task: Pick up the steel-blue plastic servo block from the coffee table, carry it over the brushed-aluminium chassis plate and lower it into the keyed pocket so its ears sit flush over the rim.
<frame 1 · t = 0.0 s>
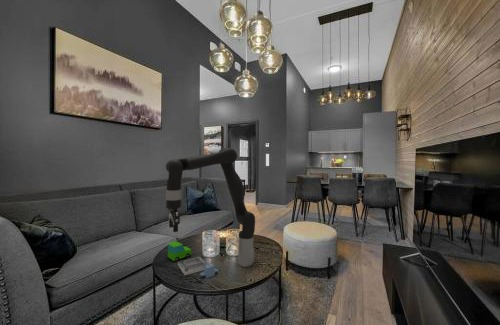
hand: (173, 229, 111), 29 cm above the table, fingers open, 8 cm apart
servo: (209, 275, 122), on the table
chassis: (192, 267, 131), on the table
toy car: (179, 257, 144), on the table
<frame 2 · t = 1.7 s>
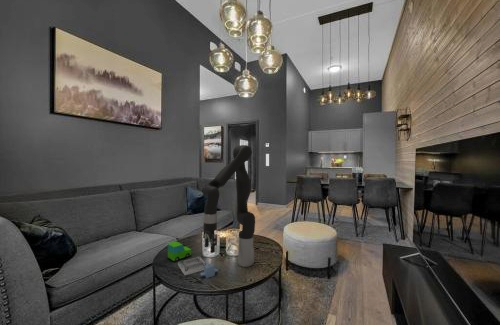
hand: (209, 249, 122), 15 cm above the table, fingers open, 8 cm apart
nothing on the table moved.
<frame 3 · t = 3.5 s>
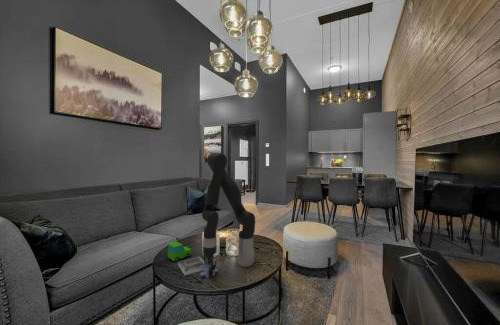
hand: (209, 274, 122), 0 cm above the table, fingers closed on servo, 3 cm apart
servo: (209, 275, 122), on the table, touching gripper
everything else where it was.
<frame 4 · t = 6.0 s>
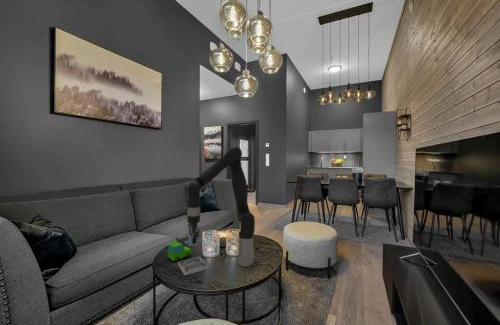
hand: (193, 242, 130), 15 cm above the table, fingers closed on servo, 3 cm apart
servo: (192, 244, 130), point 14 cm above the table, tilted 7°, touching gripper
everything else where it was.
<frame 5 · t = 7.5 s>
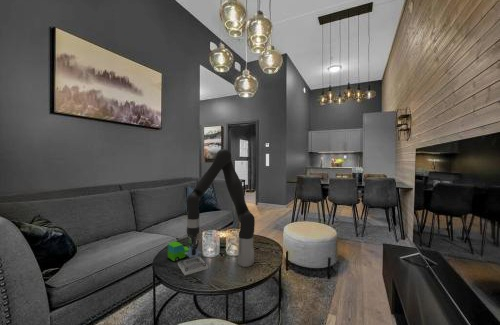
hand: (192, 253, 131), 8 cm above the table, fingers closed on servo, 3 cm apart
servo: (192, 256, 131), point 7 cm above the table, tilted 9°, touching gripper
everything else where it was.
when the fingers open (4 cm above the table, at t = 8.8 s): servo stays where it is, resting on chassis.
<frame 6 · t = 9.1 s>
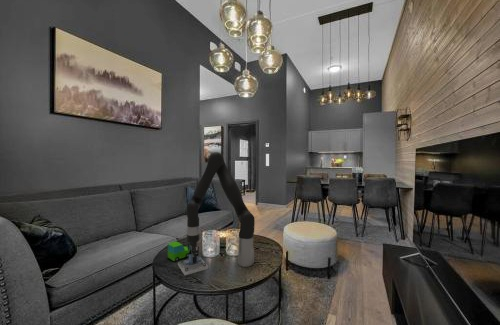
hand: (192, 260, 131), 4 cm above the table, fingers open, 6 cm apart
servo: (193, 263, 131), point 2 cm above the table, touching chassis
everything else where it was.
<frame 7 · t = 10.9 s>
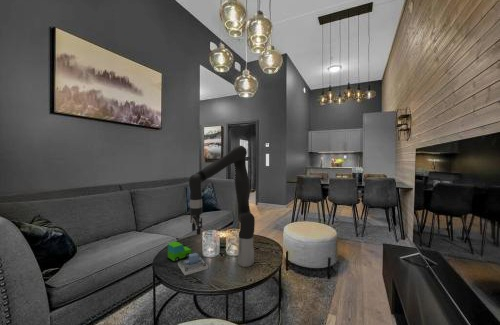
hand: (196, 232, 132), 21 cm above the table, fingers open, 8 cm apart
nothing on the table moved.
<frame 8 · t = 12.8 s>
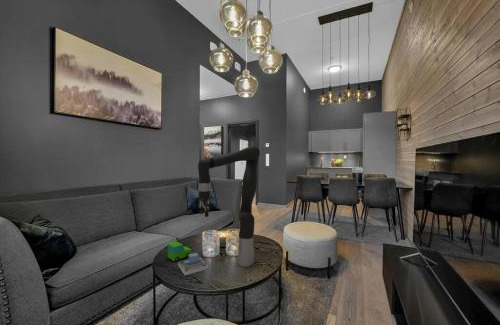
hand: (204, 215, 137), 30 cm above the table, fingers open, 8 cm apart
nothing on the table moved.
at the end: servo 0.5 cm off-centre on the chassis, point 2.0 cm above the chassis's base; servo tilted 0°; the gripper is holding nothing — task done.
